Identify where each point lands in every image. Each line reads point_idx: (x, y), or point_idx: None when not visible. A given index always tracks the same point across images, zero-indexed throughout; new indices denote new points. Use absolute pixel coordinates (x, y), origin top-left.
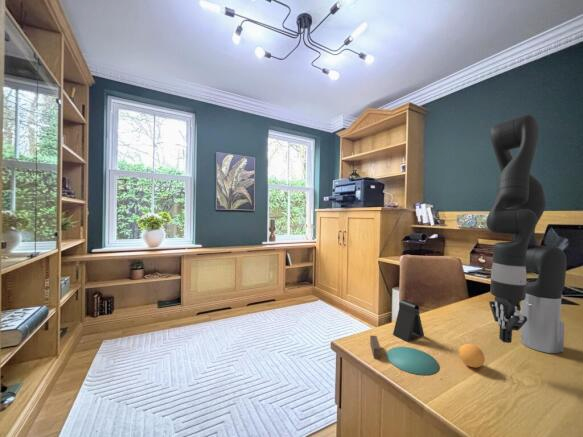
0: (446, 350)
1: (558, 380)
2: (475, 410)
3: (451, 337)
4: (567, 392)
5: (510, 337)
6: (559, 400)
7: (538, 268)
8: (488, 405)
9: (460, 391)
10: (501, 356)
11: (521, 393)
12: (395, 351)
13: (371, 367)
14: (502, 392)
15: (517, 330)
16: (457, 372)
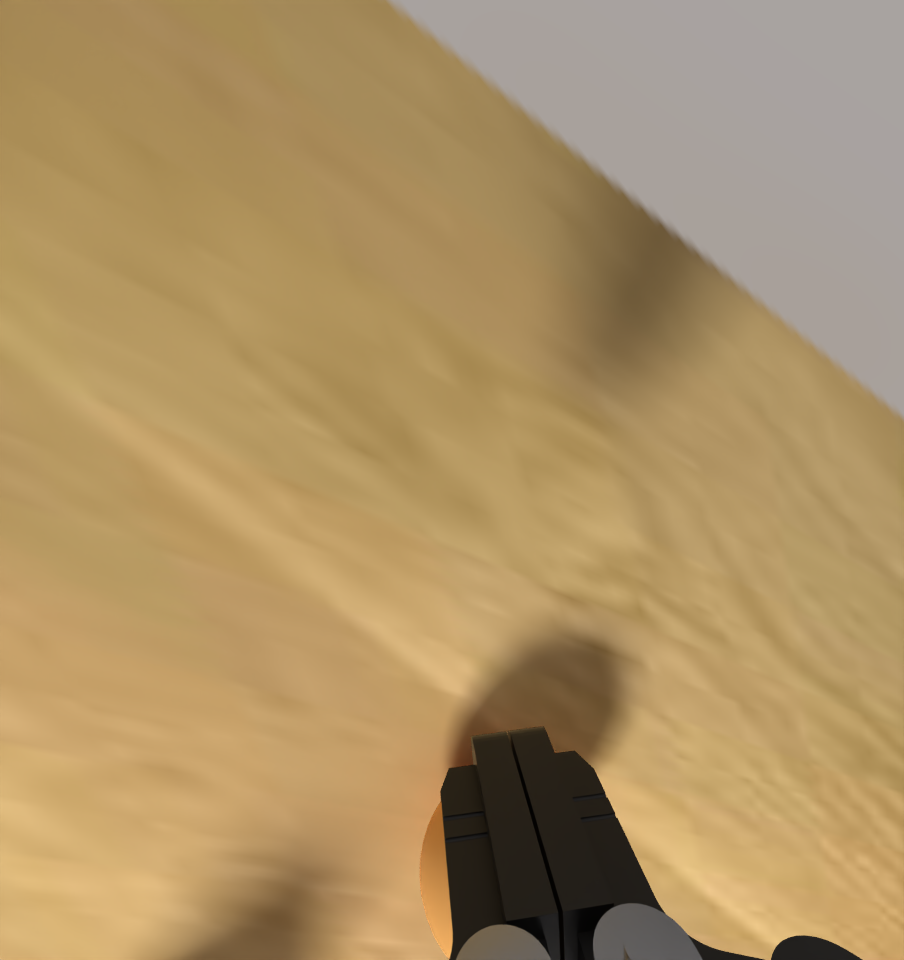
0: (312, 896)
1: (530, 264)
2: (894, 864)
3: (20, 830)
4: (680, 306)
5: (609, 815)
6: (775, 425)
7: None
8: (857, 807)
9: (770, 895)
10: (252, 539)
11: (740, 615)
12: None
13: None
14: (747, 711)
15: (816, 942)
16: None
